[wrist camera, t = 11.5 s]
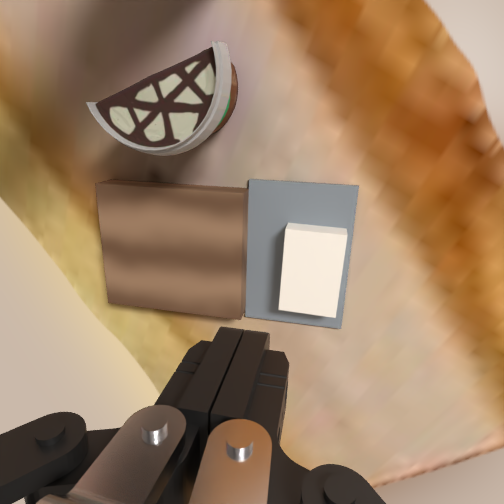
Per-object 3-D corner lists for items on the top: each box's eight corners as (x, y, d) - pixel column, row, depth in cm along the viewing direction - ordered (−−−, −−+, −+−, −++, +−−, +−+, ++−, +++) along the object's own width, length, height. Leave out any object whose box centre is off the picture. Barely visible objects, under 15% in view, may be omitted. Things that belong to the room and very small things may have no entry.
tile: (347, 235, 36) (346, 228, 38) (285, 228, 37) (288, 222, 39) (335, 317, 39) (335, 306, 41) (278, 309, 40) (281, 299, 42)
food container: (163, 166, 40) (113, 179, 31) (140, 109, 39) (80, 105, 30) (269, 123, 37) (249, 124, 28) (248, 59, 35) (218, 37, 26)
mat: (249, 178, 39) (249, 179, 39) (358, 185, 37) (358, 186, 37) (246, 315, 44) (245, 316, 44) (340, 327, 42) (340, 328, 42)
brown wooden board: (110, 179, 42) (95, 183, 39) (249, 188, 39) (243, 193, 37) (121, 292, 47) (108, 302, 44) (246, 307, 44) (240, 319, 41)
